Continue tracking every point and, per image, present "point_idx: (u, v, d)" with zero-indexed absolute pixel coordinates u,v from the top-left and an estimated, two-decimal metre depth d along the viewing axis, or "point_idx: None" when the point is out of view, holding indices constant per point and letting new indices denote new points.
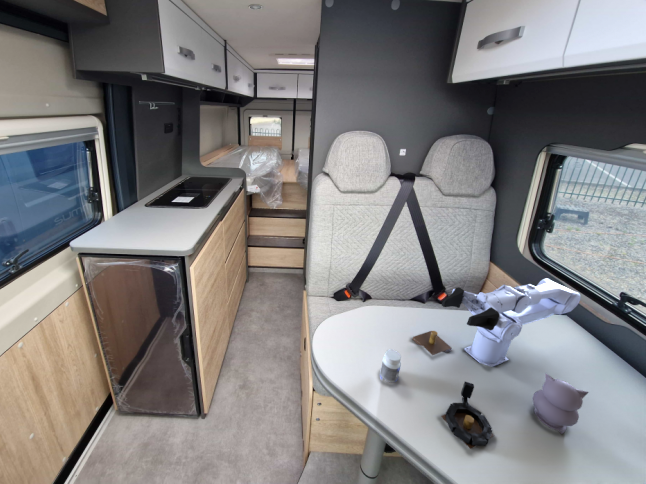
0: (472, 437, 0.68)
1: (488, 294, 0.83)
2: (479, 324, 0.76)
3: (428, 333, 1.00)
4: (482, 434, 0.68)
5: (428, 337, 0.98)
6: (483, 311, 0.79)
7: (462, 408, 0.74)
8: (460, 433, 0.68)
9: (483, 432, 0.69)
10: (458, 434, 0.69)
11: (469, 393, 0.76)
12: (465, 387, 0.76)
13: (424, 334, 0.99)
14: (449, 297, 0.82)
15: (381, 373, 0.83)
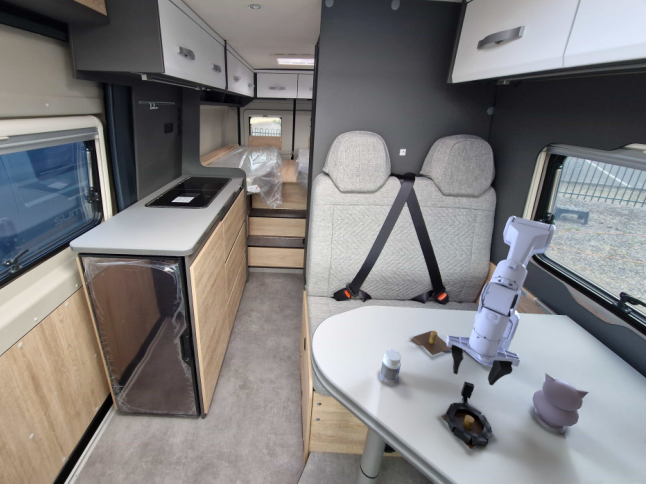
0: (472, 437, 0.68)
1: (484, 343, 0.68)
2: None
3: (428, 333, 1.00)
4: (482, 434, 0.68)
5: (428, 337, 0.98)
6: None
7: (462, 408, 0.74)
8: (460, 433, 0.68)
9: (483, 432, 0.69)
10: (458, 434, 0.69)
11: (469, 393, 0.76)
12: (465, 387, 0.76)
13: (424, 334, 0.99)
14: (456, 369, 0.74)
15: (381, 373, 0.83)
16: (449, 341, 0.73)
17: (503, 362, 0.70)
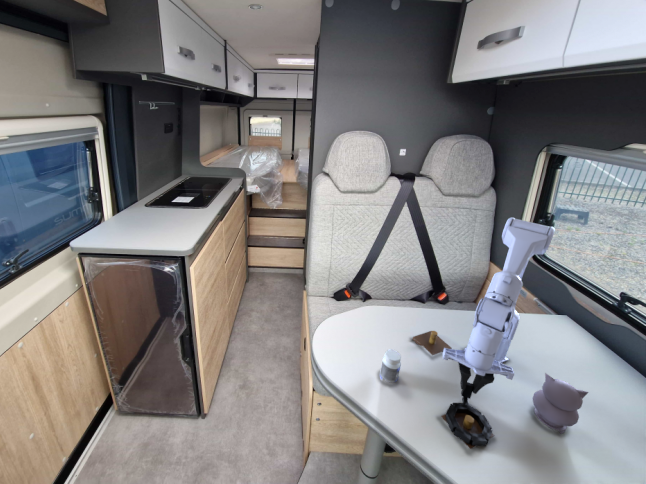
0: (472, 437, 0.68)
1: (480, 357, 0.70)
2: None
3: (428, 333, 1.00)
4: (482, 434, 0.68)
5: (428, 337, 0.98)
6: None
7: (462, 408, 0.74)
8: (460, 433, 0.68)
9: (483, 432, 0.69)
10: (458, 434, 0.69)
11: (469, 393, 0.76)
12: None
13: (424, 334, 0.99)
14: (464, 385, 0.75)
15: (381, 373, 0.83)
16: (445, 354, 0.74)
17: None
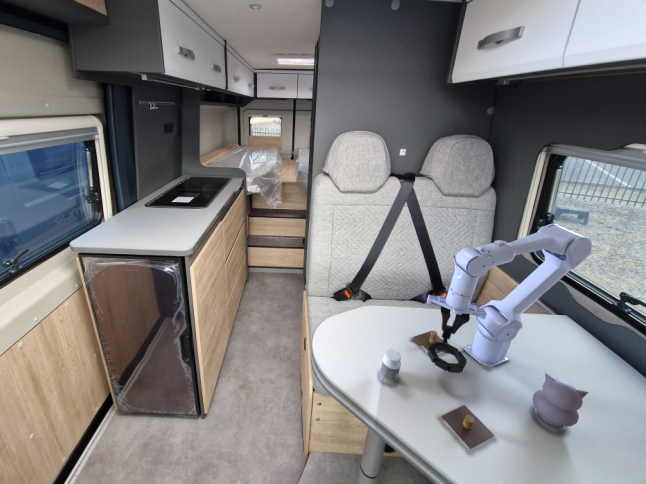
0: (449, 365, 0.79)
1: (458, 299, 0.81)
2: None
3: (428, 333, 1.00)
4: (458, 363, 0.80)
5: (428, 337, 0.98)
6: None
7: (442, 346, 0.86)
8: (440, 362, 0.80)
9: (459, 362, 0.81)
10: (438, 363, 0.80)
11: (449, 334, 0.88)
12: (445, 329, 0.88)
13: (424, 334, 0.99)
14: (444, 327, 0.87)
15: (381, 373, 0.83)
16: (429, 299, 0.86)
17: (463, 313, 0.84)
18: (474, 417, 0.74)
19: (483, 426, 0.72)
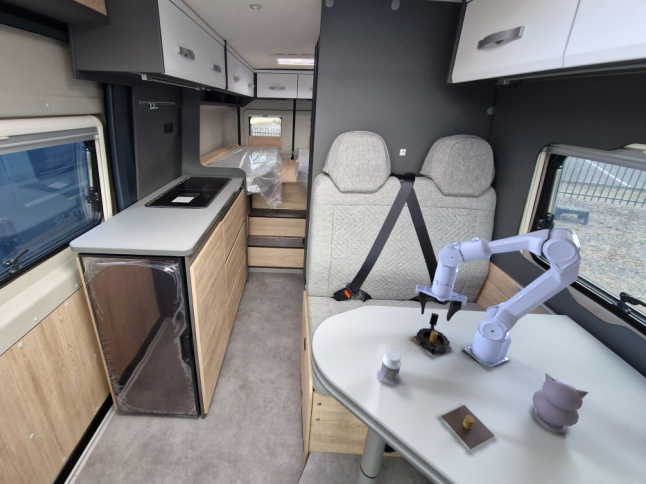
0: (434, 347, 0.92)
1: (441, 287, 0.94)
2: None
3: None
4: (442, 345, 0.93)
5: (428, 337, 0.98)
6: None
7: (429, 331, 0.98)
8: (426, 345, 0.93)
9: (443, 344, 0.93)
10: (424, 346, 0.93)
11: (435, 321, 1.00)
12: (432, 317, 1.00)
13: None
14: (423, 310, 1.00)
15: (381, 373, 0.83)
16: (417, 289, 0.99)
17: (455, 302, 0.95)
18: (474, 417, 0.74)
19: (483, 426, 0.72)
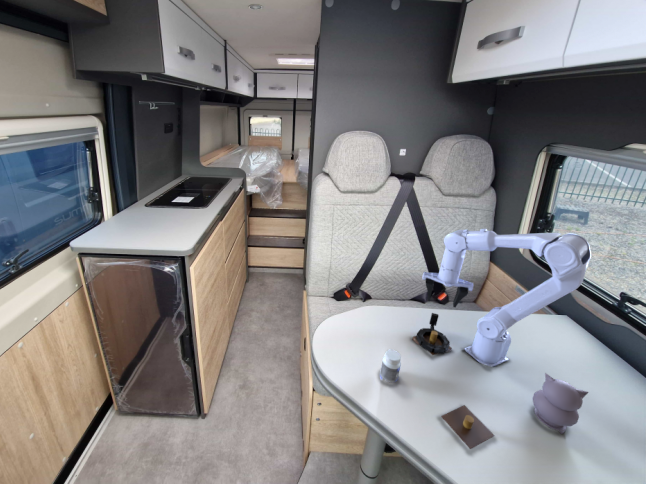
0: (434, 347, 0.92)
1: (448, 273, 0.95)
2: None
3: None
4: (442, 345, 0.93)
5: (428, 337, 0.98)
6: None
7: (429, 331, 0.98)
8: (426, 345, 0.93)
9: (443, 344, 0.93)
10: (424, 346, 0.93)
11: (435, 321, 1.00)
12: (432, 317, 1.00)
13: None
14: (429, 297, 1.01)
15: (381, 373, 0.83)
16: (424, 275, 1.00)
17: (462, 288, 0.96)
18: (474, 417, 0.74)
19: (483, 426, 0.72)
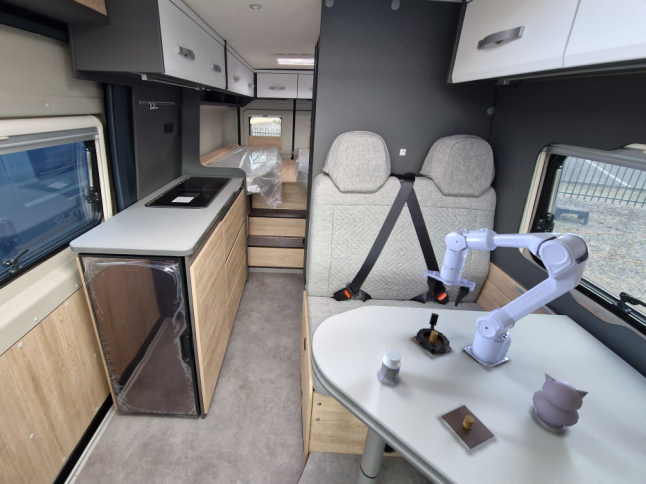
0: (434, 347, 0.92)
1: (448, 272, 0.96)
2: None
3: None
4: (442, 345, 0.93)
5: (428, 337, 0.98)
6: None
7: (429, 331, 0.98)
8: (426, 345, 0.93)
9: (443, 344, 0.93)
10: (424, 346, 0.93)
11: (435, 321, 1.00)
12: (432, 317, 1.00)
13: None
14: (431, 295, 1.03)
15: (381, 373, 0.83)
16: (425, 273, 1.02)
17: (463, 288, 0.97)
18: (474, 417, 0.74)
19: (483, 426, 0.72)
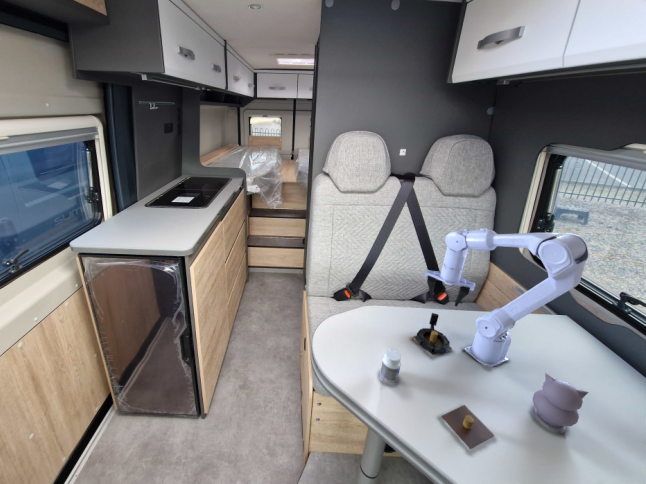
0: (434, 347, 0.92)
1: (448, 272, 0.96)
2: None
3: None
4: (442, 345, 0.93)
5: (428, 337, 0.98)
6: None
7: (429, 331, 0.98)
8: (426, 345, 0.93)
9: (443, 344, 0.93)
10: (424, 346, 0.93)
11: (435, 321, 1.00)
12: (432, 317, 1.00)
13: None
14: (431, 294, 1.03)
15: (381, 373, 0.83)
16: (426, 273, 1.02)
17: (463, 288, 0.97)
18: (474, 417, 0.74)
19: (483, 426, 0.72)
